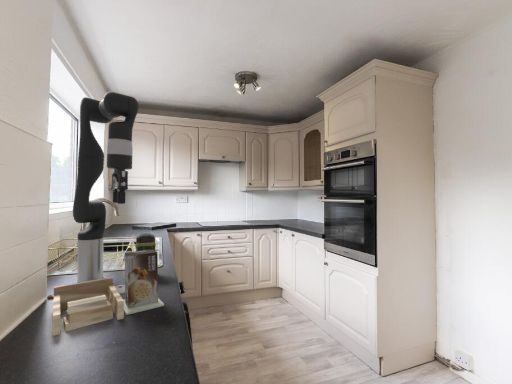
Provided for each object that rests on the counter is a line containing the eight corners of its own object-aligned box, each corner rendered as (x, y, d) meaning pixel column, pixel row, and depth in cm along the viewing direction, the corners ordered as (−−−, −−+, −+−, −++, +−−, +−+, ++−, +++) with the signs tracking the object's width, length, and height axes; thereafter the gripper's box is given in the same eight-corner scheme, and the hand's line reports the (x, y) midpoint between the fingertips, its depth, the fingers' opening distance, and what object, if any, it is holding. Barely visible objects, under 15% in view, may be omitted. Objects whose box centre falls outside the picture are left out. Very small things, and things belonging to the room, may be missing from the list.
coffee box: (153, 296, 91) (153, 248, 91) (158, 302, 86) (158, 251, 86) (124, 302, 86) (124, 252, 86) (127, 308, 81) (127, 255, 81)
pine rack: (53, 309, 82) (53, 286, 82) (112, 297, 92) (112, 277, 92) (52, 336, 66) (52, 307, 66) (123, 318, 76) (123, 293, 76)
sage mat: (118, 302, 87) (118, 300, 87) (153, 294, 94) (153, 293, 94) (126, 315, 78) (126, 312, 78) (164, 305, 84) (164, 303, 84)
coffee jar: (155, 277, 114) (155, 234, 115) (135, 280, 111) (135, 235, 112) (154, 272, 123) (154, 231, 124) (136, 274, 120) (136, 232, 121)
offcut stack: (63, 325, 72) (63, 302, 73) (108, 313, 80) (108, 293, 80) (65, 332, 68) (65, 308, 68) (113, 319, 75) (113, 298, 76)
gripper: (137, 153, 85) (135, 204, 85) (127, 157, 97) (126, 202, 97) (110, 150, 81) (109, 204, 81) (104, 155, 92) (102, 202, 92)
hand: (118, 203), depth 89 cm, fingers open, 8 cm apart
